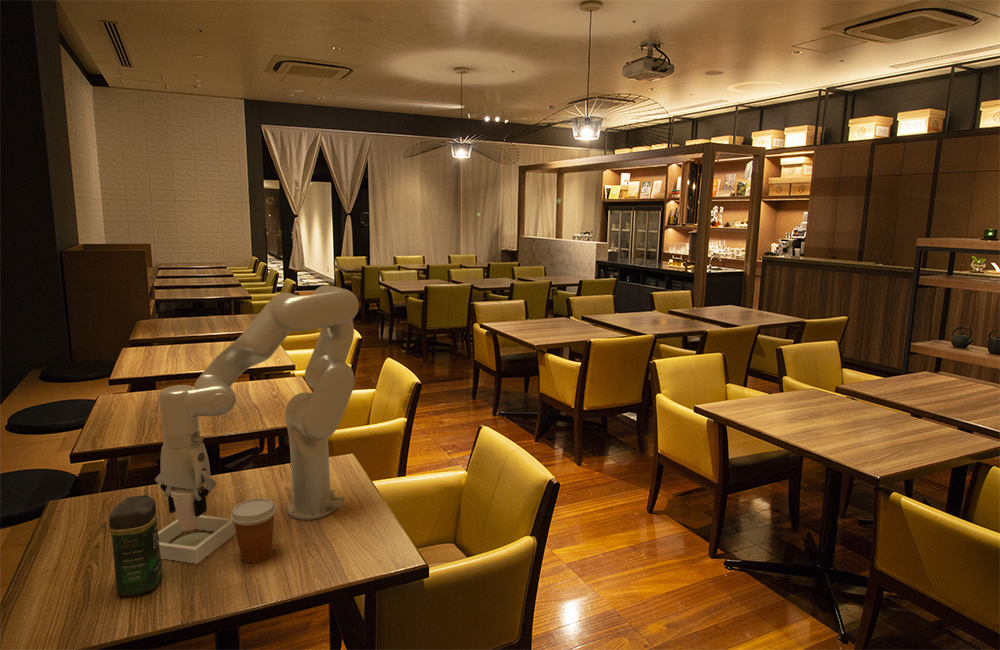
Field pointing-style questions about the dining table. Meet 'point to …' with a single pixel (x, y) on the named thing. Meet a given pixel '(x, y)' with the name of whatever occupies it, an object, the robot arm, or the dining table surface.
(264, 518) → the disposable coffee cup
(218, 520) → the white square frame
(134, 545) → the coffee jar
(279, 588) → the dining table surface
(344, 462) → the dining table surface
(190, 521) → the smoothie
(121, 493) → the dining table surface
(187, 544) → the pale green round spot
